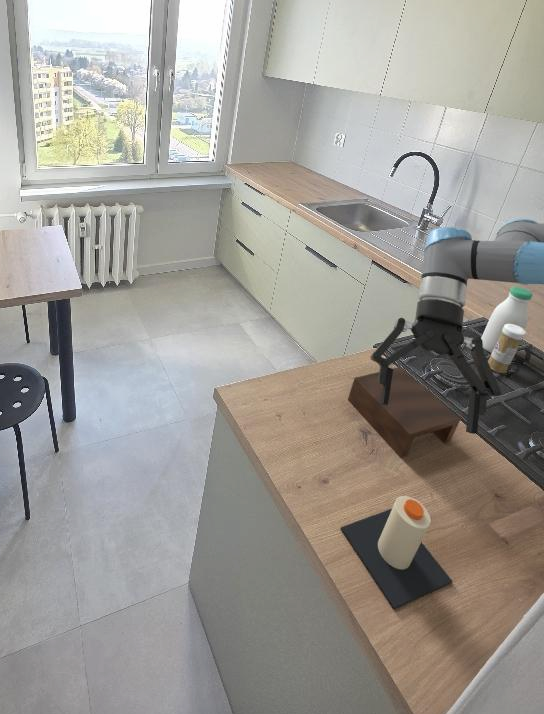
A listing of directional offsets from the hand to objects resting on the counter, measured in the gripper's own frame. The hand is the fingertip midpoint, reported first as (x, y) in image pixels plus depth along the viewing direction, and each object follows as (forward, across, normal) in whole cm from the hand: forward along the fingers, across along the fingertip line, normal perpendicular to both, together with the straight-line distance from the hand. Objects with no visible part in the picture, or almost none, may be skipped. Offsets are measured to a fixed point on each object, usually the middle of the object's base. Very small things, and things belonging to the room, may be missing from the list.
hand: (426, 418), depth 74 cm
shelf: (0, -1, -26) cm, 26 cm away
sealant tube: (+22, +1, -3) cm, 23 cm away
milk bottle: (-29, -29, -56) cm, 69 cm away
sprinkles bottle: (-22, -27, -49) cm, 60 cm away
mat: (+23, +1, -4) cm, 23 cm away
